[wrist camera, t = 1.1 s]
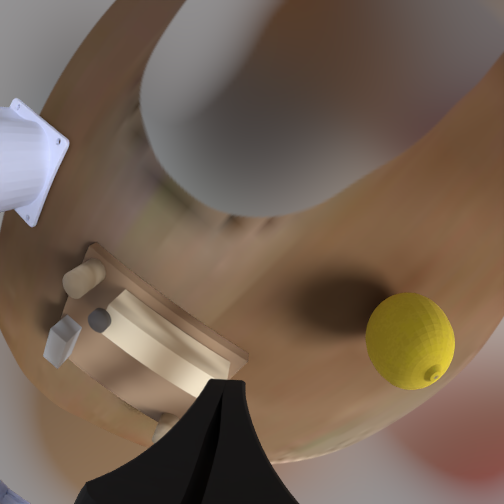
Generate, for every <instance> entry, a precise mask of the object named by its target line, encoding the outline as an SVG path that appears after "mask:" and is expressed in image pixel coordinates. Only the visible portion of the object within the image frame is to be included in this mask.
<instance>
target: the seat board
mask: <svg viewBox="0 0 504 504" xmlns="http://www.w3.org/2000/svg"><path fill="white" fill-rule="evenodd" d="M63 287H64V289H65V291H66V293H67V294H68V295H69V296H68V298H67V301H66V304H65V307H64V310H63V312H62V315H61V318H60V321H59V322H58V323H57V324H55V325H54V326H53V327H52V328H51V329H50V333H49V336H48V340H47V343H46V347H45V351H44V355H43V356H44V357H45V358H46V359H47V360H48V361H49V362H50V363H51V364H53V365H54V366H55V367H56V368H57V369H58V368H59V367H60V366H61V365H62V363H63V362H64V361H65V360H66V359H67V358H68V359H69V360H70V361H72V362H73V363H74V364H75V365H76V366H78V367H79V368H80V369H81V370H83V371H84V372H85V373H86V374H88V375H89V376H90V377H92V378H93V379H94V380H96V381H97V382H98V383H100V384H101V385H102V386H104V387H105V388H106V389H108V390H109V391H111V392H112V393H113V394H115V395H116V396H118V397H119V398H121V399H122V400H124V401H125V402H127V403H128V404H130V405H131V406H133V407H134V408H136V409H137V410H139V411H141V412H142V413H144V414H145V415H147V416H149V417H150V418H152V419H154V420H155V421H157V422H158V425H157V427H156V430H155V432H154V435H153V438H152V441H153V443H154V444H155V443H156V442H157V441H158V440H159V439H161V438H162V437H163V436H164V435H165V434H166V433H167V432H168V431H169V430H170V429H171V428H172V427H173V426H174V425H175V424H176V423H177V422H178V421H179V420H180V419H181V417H182V416H183V415H184V414H185V413H186V412H187V410H188V409H189V408H190V406H191V405H192V404H193V403H194V401H195V400H196V399H197V398H196V397H194V396H192V395H191V394H189V393H187V392H186V391H184V390H182V389H181V388H179V387H177V386H176V385H174V384H173V383H171V382H169V381H168V380H166V379H165V378H163V377H162V376H160V375H158V374H157V373H155V372H154V371H152V370H151V369H149V368H148V367H147V366H145V365H144V364H142V363H141V362H139V361H138V360H136V359H135V358H134V357H132V356H131V355H130V354H128V353H127V352H125V351H124V350H123V349H121V348H120V347H119V346H117V345H116V344H115V343H113V342H112V341H111V340H110V339H108V338H107V337H106V336H104V335H103V334H102V333H98V332H96V331H94V330H93V329H92V328H91V327H90V325H89V323H88V316H89V314H91V313H92V312H93V311H94V310H95V309H96V308H103V309H105V310H106V309H107V307H108V305H109V304H110V303H111V302H112V301H113V300H114V299H115V298H116V297H118V296H119V295H120V294H121V293H122V292H123V291H124V290H125V289H126V290H127V291H129V292H130V293H131V294H132V295H134V296H135V297H136V298H138V299H139V300H140V301H142V302H143V303H144V304H145V305H147V306H148V307H149V308H151V309H152V310H154V311H155V312H156V313H158V314H159V315H160V316H162V317H163V318H164V319H166V320H167V321H169V322H170V323H171V324H173V325H174V326H176V327H177V328H179V329H180V330H181V331H183V332H184V333H186V334H187V335H189V336H190V337H192V338H193V339H195V340H196V341H198V342H199V343H201V344H202V345H204V346H205V347H207V348H208V349H210V350H211V351H213V352H215V353H216V354H218V355H219V356H221V357H222V358H224V359H226V360H227V361H229V362H230V367H229V373H228V378H227V380H229V379H231V378H232V377H233V376H234V375H235V374H236V373H237V372H238V371H239V370H240V369H241V368H242V367H243V366H244V365H245V364H246V363H247V362H248V357H249V353H247V352H245V351H244V350H242V349H241V348H239V347H238V346H236V345H234V344H233V343H231V342H230V341H228V340H227V339H225V338H224V337H222V336H221V335H219V334H218V333H216V332H215V331H213V330H212V329H210V328H209V327H207V326H206V325H204V324H203V323H201V322H200V321H198V320H197V319H196V318H194V317H193V316H191V315H190V314H188V313H187V312H186V311H184V310H183V309H181V308H180V307H179V306H177V305H176V304H174V303H173V302H172V301H170V300H169V299H168V298H166V297H165V296H163V295H162V294H161V293H159V292H158V291H157V290H155V289H154V288H153V287H151V286H150V285H149V284H148V283H146V282H145V281H144V280H142V279H141V278H140V277H138V276H137V275H136V274H135V273H133V272H132V271H131V270H130V269H128V268H127V267H126V266H125V265H123V264H122V263H121V262H120V261H118V260H117V259H116V258H115V257H114V256H112V255H111V254H110V253H109V252H107V251H106V250H105V249H104V248H103V247H102V246H100V245H99V244H98V243H97V242H96V243H94V244H92V245H90V246H89V248H88V250H87V252H86V254H85V257H84V259H83V261H82V263H81V265H79V266H78V267H76V268H74V269H73V270H71V271H69V272H68V273H66V274H65V275H64V277H63Z"/></svg>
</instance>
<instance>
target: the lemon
mask: <svg viewBox="0 0 504 504" xmlns="http://www.w3.org/2000/svg"><path fill="white" fill-rule="evenodd" d="M366 345H367V351H368V355H369V357H370V359H371V361H372V363H373V365H374V366H375V368H376V370H377V371H378V372H379V373H380V375H381V376H383V377H384V378H385V379H386V380H387V381H388V382H390V383H391V384H392V385H394V386H396V387H399V388H402V389H408V390H416V389H420V388H424V387H427V386H429V385H431V384H432V383H434V382H436V381H437V380H438V379H439V378H440V377H441V376H442V375H443V374H444V373H445V372H446V370H447V368H448V367H449V365H450V363H451V360H452V358H453V354H454V349H455V340H454V333H453V330H452V327H451V325H450V323H449V321H448V319H447V317H446V315H445V314H444V312H443V311H442V310H441V309H440V308H439V307H438V306H437V305H436V304H435V303H434V302H433V301H432V300H430V299H429V298H427V297H424V296H422V295H419V294H416V293H400V294H395V295H393V296H391V297H388V298H387V299H385V300H384V301H383V302H381V303H380V304H379V305H378V306H377V307H376V308H375V310H374V311H373V313H372V315H371V316H370V319H369V322H368V324H367V329H366Z"/></svg>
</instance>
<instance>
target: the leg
mask: <svg viewBox="0 0 504 504" xmlns="http://www.w3.org/2000/svg"><path fill="white" fill-rule="evenodd" d="M88 323H89V325H90V327H91V328H92V329H93V330H94V331H96V332H98V333H102V334H103V335H104V336H106V337H107V338H108V339H110V340H111V341H112V342H113V343H115V344H116V345H117V346H119V347H120V348H121V349H123V350H124V351H125V352H127V353H128V354H130V355H131V356H132V357H134V358H135V359H136V360H138V361H139V362H141V363H142V364H144V365H145V366H147V367H148V368H149V369H151V370H152V371H154V372H155V373H157V374H158V375H160V376H162V377H163V378H165V379H166V380H168V381H169V382H171V383H173V384H174V385H176V386H177V387H179V388H181V389H182V390H184V391H186V392H187V393H189V394H191V395H192V396H194V397H196V398H197V397H198V396H199V394H200V393H201V392H202V390H203V389H204V387H205V385H206V384H207V382H208V380H210V379H225V380H227V378H228V373H229V367H230V362H229V361H227V360H226V359H224V358H222V357H221V356H219V355H218V354H216V353H215V352H213V351H211V350H210V349H208V348H207V347H205V346H204V345H202V344H201V343H199V342H198V341H196V340H195V339H193V338H192V337H190V336H189V335H187V334H186V333H184V332H183V331H181V330H180V329H179V328H177V327H176V326H174V325H173V324H171V323H170V322H169V321H167V320H166V319H164V318H163V317H162V316H160V315H159V314H158V313H156V312H155V311H154V310H152V309H151V308H149V307H148V306H147V305H145V304H144V303H143V302H142V301H140V300H139V299H138V298H136V297H135V296H134V295H132V294H131V293H130V292H129V291H127V290H126V289H125V290H124V291H123V292H122V293H121V294H120V295H119V296H118V297H116V298H115V299H114V300H113V301H112V302H111V303H110V304H109V305H108V307H107V309H106V310H105V309H103V308H96V309H95V310H94V311H93V312H92V313H91V314H89V316H88Z"/></svg>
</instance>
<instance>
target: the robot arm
mask: <svg viewBox="0 0 504 504" xmlns="http://www.w3.org/2000/svg"><path fill="white" fill-rule="evenodd" d="M59 140H61V142H60V144H59ZM68 147H69V140H68V139H67V138H66V137H65V136H63V135H62V134H61V133H60V132H58V131H57V130H56V129H55V128H53V127H52V126H51V125H50V124H49V123H47V122H46V121H45V120H44V119H43V118H41V117H40V116H39V115H38V114H36V113H35V112H34V111H33V110H32V109H30V108H29V107H28V106H27V105H26V104H24V103H23V102H22V101H21V100H20V99H18V98H15V99H14V100H13V101H12V103H11V105H10V107H0V212H4V211H7V210H11V209H15V211H16V212H17V213H18V214H19V215H20V216H21V217H22V218H23V220H24V221H25V222H26V223H27V224H28V225H29V226H30V227H34V226H36V224H37V221H38V218H39V215H40V213H41V210H42V207H43V204H44V202H45V199H46V197H47V194H48V191H49V189H50V187H51V184H52V182H53V179H54V177H55V175H56V173H57V170H58V168H59V166H60V164H61V162H62V160H63V157H64V155H65V153H66V151H67V149H68ZM0 504H31V503H29V502H27V501H26V500H25V499H23V498H22V497H20V496H19V495H17V494H16V493H14V492H13V491H12V490H10V489H9V488H8V487H7V486H6V485H5V484H4V483H3V482H2V481H1V480H0ZM74 504H299V503H298V502H297V501H296V499H295V498H294V497H293V496H292V494H291V493H290V492H289V491H288V489H287V488H286V487H285V485H284V484H283V482H282V481H281V479H280V478H279V476H278V475H277V473H276V472H275V470H274V469H273V467H272V465H271V463H270V462H269V460H268V458H267V456H266V454H265V452H264V450H263V448H262V446H261V444H260V442H259V439H258V437H257V434H256V432H255V429H254V426H253V424H252V420H251V417H250V414H249V410H248V406H247V401H246V393H245V382H244V381H242V380H225V379H210V380H208V382H207V384H206V385H205V387H204V389H203V390H202V392H201V393H200V394H199V396H198V397H197V399H196V400H195V401H194V403H193V404H192V405H191V406H190V408H189V409H188V410H187V412H186V413H185V414H184V415H183V416H182V417H181V419H180V420H179V421H178V422H177V423H176V424H175V425H174V426H173V427H172V428H171V429H170V430H169V431H168V432H167V433H166V434H165V435H164V436H163V437H162V438H161V439H159V440H158V441H157V442H156V443H155V444H154V445H152V446H151V447H150V448H148V449H147V450H146V451H144V452H143V453H142V454H140V455H139V456H138V457H136V458H135V459H133V460H131V461H130V462H128V463H126V464H124V465H123V466H121V467H119V468H117V469H116V470H114V471H112V472H110V473H107V474H105V475H103V476H101V477H98V478H96V479H93V480H91V481H88V482H86V484H85V485H84V487H83V488H82V489H81V491H80V493H79V494H78V497H77V499H76V501H75V503H74Z"/></svg>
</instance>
